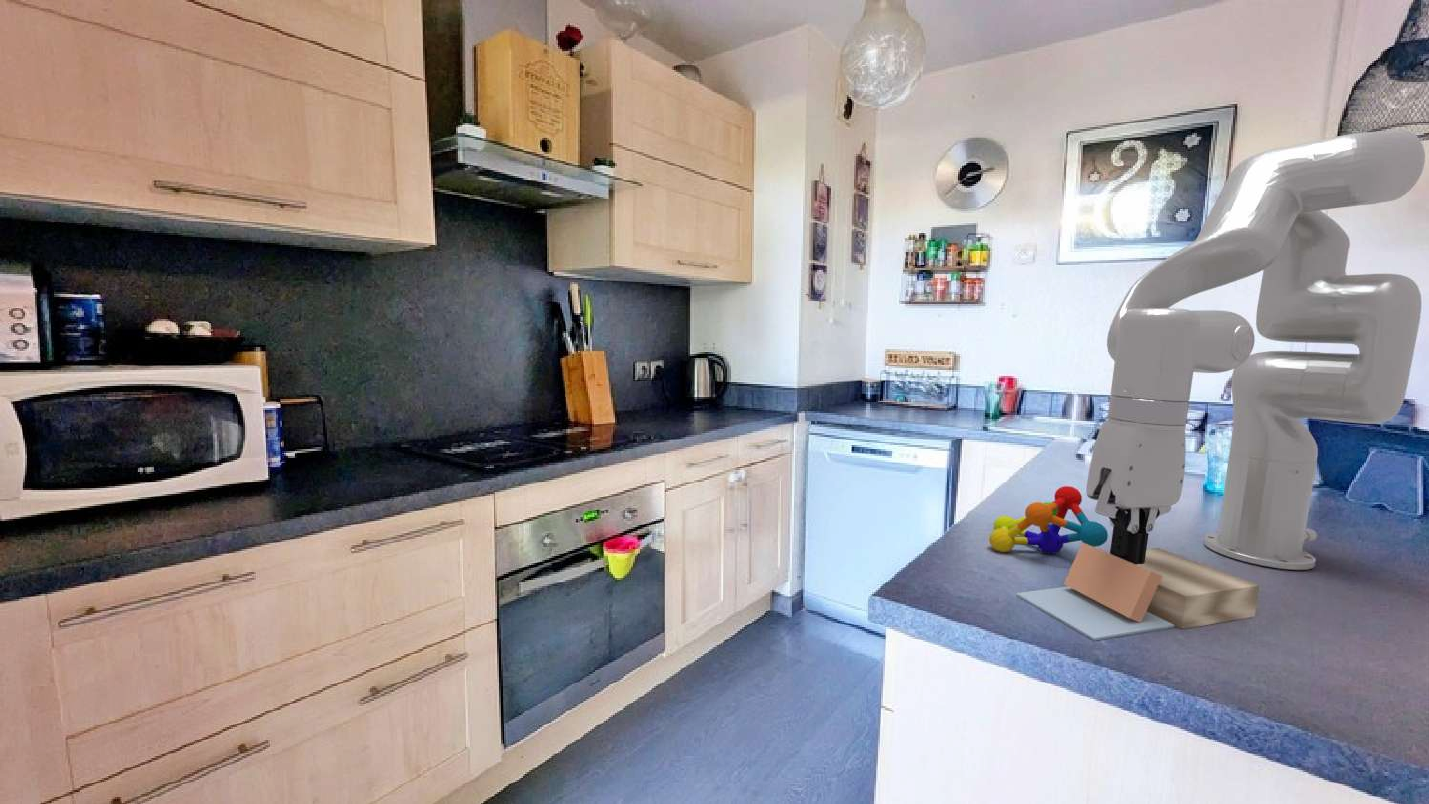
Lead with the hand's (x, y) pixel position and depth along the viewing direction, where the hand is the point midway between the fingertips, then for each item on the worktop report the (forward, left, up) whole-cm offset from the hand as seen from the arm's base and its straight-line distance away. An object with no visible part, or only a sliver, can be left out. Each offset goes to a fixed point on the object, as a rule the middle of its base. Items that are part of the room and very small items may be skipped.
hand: (1126, 559), depth 70 cm
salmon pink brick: (+1, 0, -3) cm, 3 cm away
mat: (+5, 0, -6) cm, 8 cm away
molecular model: (-5, -18, -6) cm, 19 cm away
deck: (-8, 0, -6) cm, 10 cm away
